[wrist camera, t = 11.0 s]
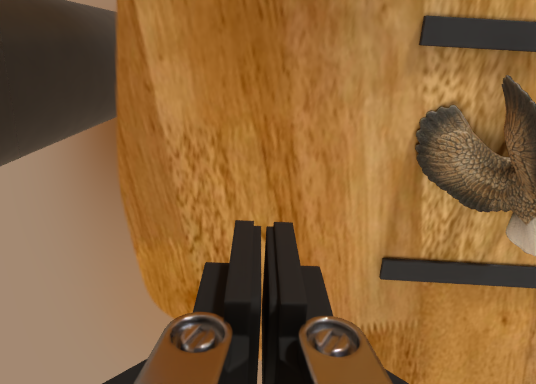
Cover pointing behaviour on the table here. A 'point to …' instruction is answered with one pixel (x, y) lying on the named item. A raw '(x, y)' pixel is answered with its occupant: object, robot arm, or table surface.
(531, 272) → the frame
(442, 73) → the table surface
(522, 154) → the eagle figurine
